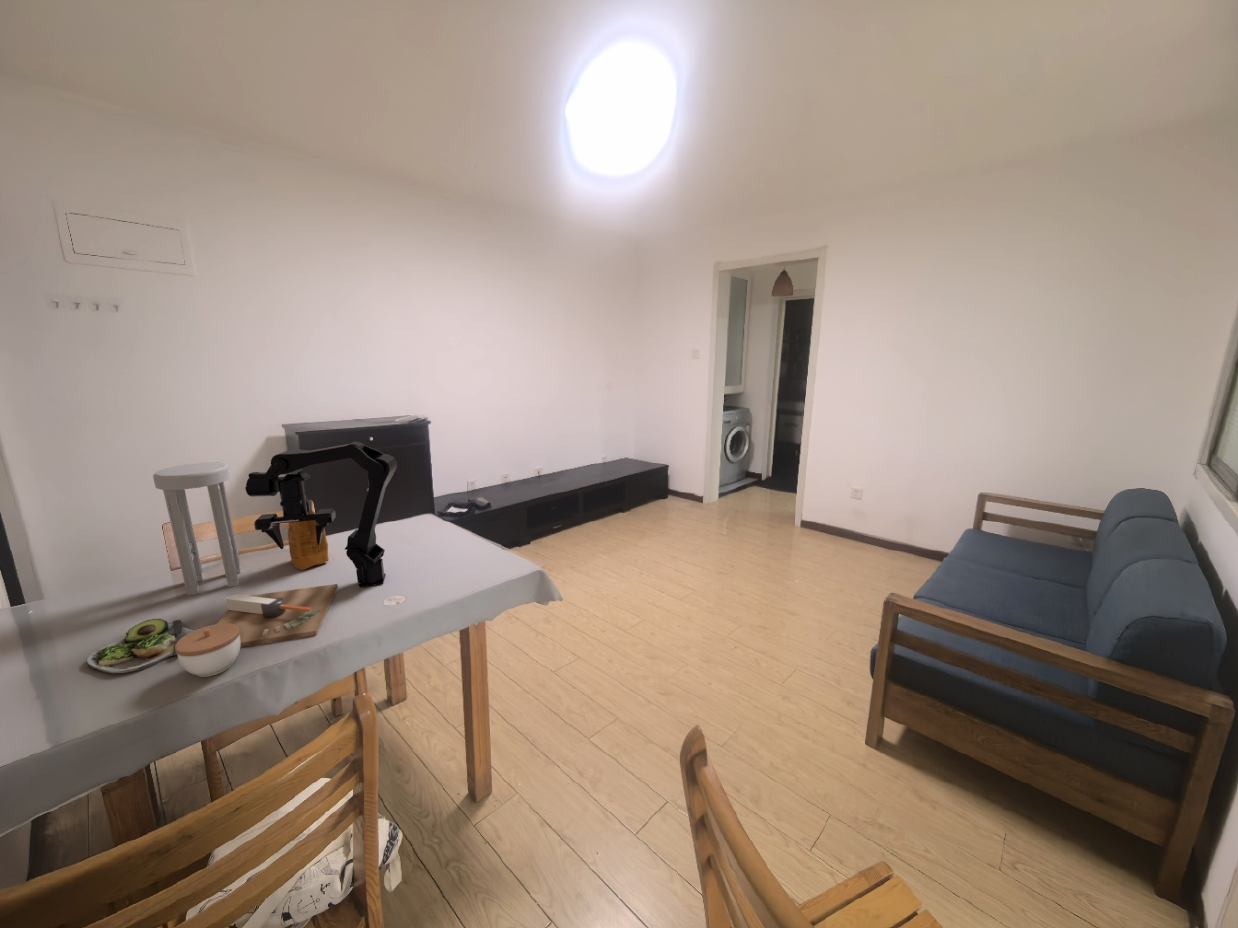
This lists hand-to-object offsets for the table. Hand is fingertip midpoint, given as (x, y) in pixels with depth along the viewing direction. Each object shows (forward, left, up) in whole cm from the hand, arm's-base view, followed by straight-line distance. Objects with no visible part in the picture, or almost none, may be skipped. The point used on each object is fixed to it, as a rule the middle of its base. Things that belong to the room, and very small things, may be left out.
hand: (300, 546), depth 140 cm
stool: (+26, -10, -12) cm, 30 cm away
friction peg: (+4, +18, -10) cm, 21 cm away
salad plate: (+27, +24, -13) cm, 38 cm away
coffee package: (+3, -17, -12) cm, 21 cm away
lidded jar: (+9, +37, -12) cm, 40 cm away
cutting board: (+3, +18, -12) cm, 22 cm away
